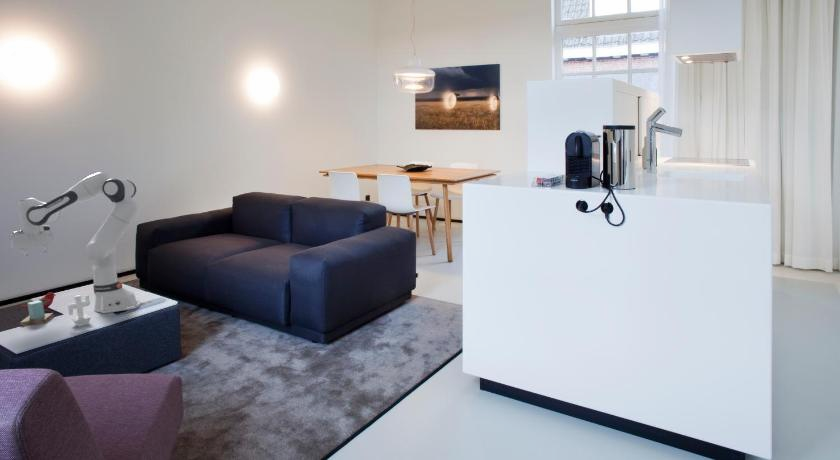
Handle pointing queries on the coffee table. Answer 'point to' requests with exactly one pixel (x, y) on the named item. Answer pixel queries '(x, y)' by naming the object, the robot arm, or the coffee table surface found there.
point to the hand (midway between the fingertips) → (35, 254)
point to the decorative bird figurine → (45, 300)
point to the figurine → (80, 310)
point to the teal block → (36, 309)
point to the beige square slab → (37, 320)
